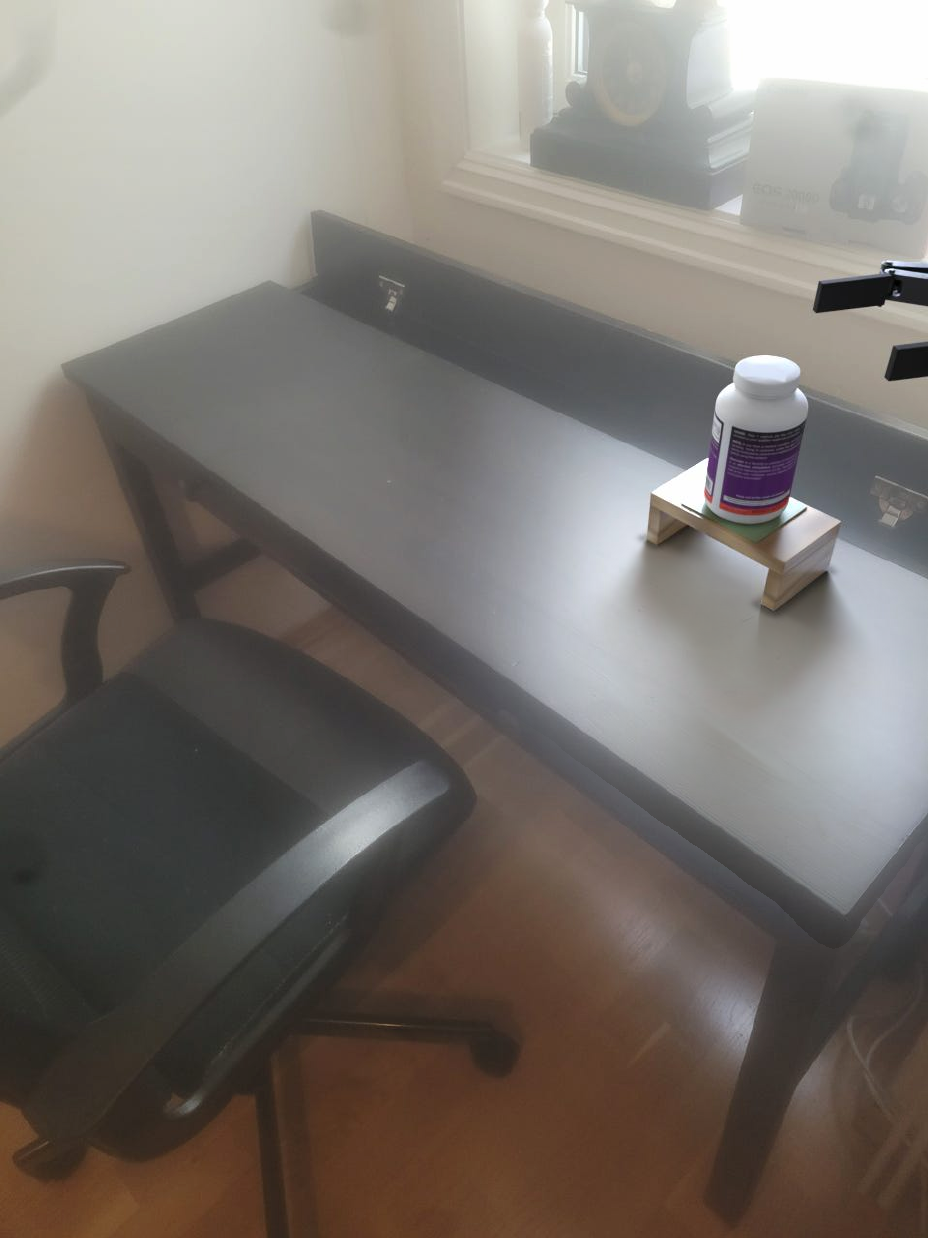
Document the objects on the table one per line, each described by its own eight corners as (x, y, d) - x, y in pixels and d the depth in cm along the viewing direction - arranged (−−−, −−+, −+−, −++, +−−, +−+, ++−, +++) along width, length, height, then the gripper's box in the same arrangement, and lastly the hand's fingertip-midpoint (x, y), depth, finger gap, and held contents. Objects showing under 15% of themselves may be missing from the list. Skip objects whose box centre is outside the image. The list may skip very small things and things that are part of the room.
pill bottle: (804, 508, 84) (838, 371, 74) (744, 539, 81) (771, 401, 71) (742, 472, 89) (766, 340, 80) (684, 500, 86) (701, 366, 77)
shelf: (828, 569, 87) (842, 519, 82) (773, 611, 83) (785, 561, 79) (700, 503, 96) (707, 456, 92) (646, 538, 92) (650, 490, 88)
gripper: (1172, 408, 68) (913, 441, 67) (989, 287, 87) (784, 312, 85) (1222, 315, 63) (943, 350, 62) (1017, 208, 82) (799, 233, 80)
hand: (851, 328), depth 74 cm, fingers open, 13 cm apart
